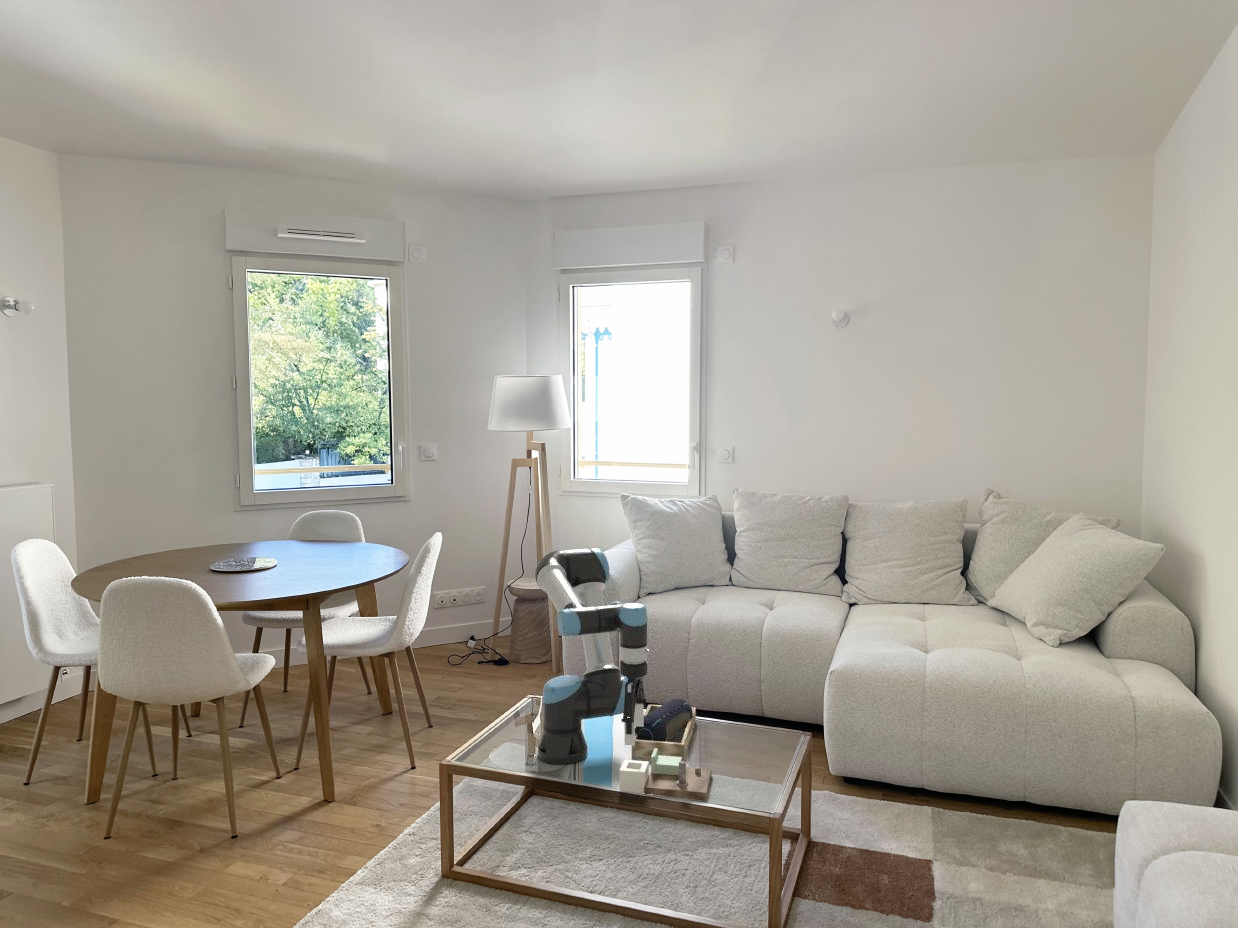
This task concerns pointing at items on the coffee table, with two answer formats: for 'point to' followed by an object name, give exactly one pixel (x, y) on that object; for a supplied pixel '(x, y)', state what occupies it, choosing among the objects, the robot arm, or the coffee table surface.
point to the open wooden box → (664, 748)
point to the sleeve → (633, 776)
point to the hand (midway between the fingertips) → (634, 735)
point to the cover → (664, 764)
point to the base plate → (680, 783)
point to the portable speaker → (665, 721)
